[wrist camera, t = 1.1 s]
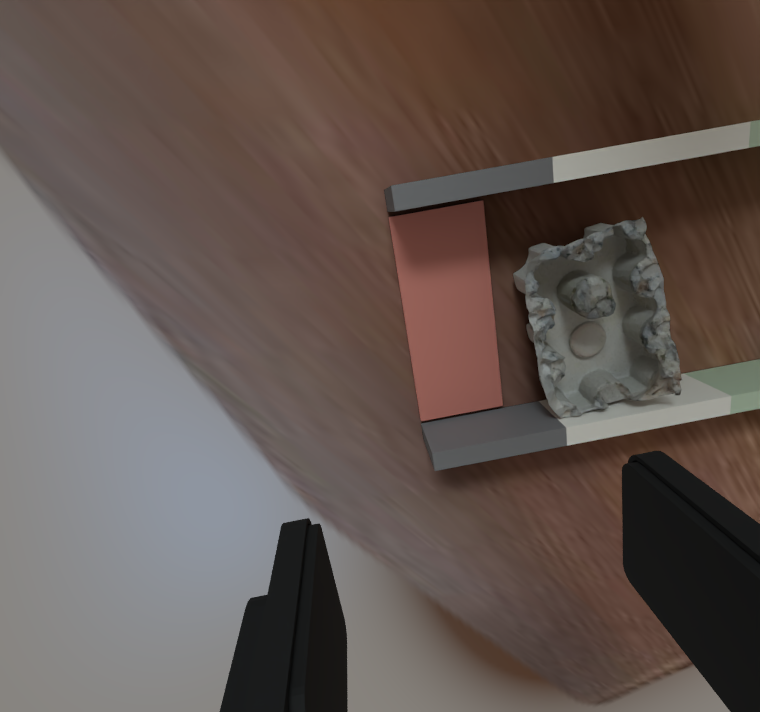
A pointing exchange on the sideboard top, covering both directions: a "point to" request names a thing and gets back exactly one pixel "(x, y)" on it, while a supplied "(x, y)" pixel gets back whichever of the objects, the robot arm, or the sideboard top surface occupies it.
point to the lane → (477, 322)
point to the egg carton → (599, 319)
